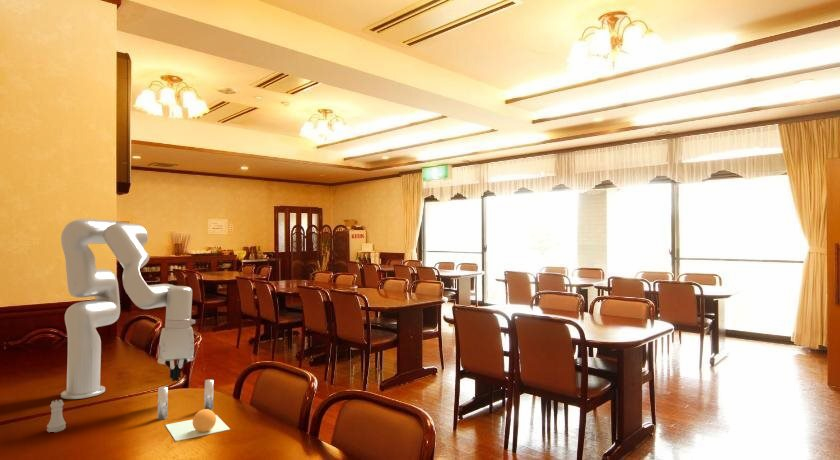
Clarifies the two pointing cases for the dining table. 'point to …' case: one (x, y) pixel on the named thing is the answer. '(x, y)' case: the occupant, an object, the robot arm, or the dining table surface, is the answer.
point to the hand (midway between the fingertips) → (174, 379)
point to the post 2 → (209, 394)
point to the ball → (204, 420)
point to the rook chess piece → (56, 417)
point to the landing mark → (193, 429)
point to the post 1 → (162, 402)
